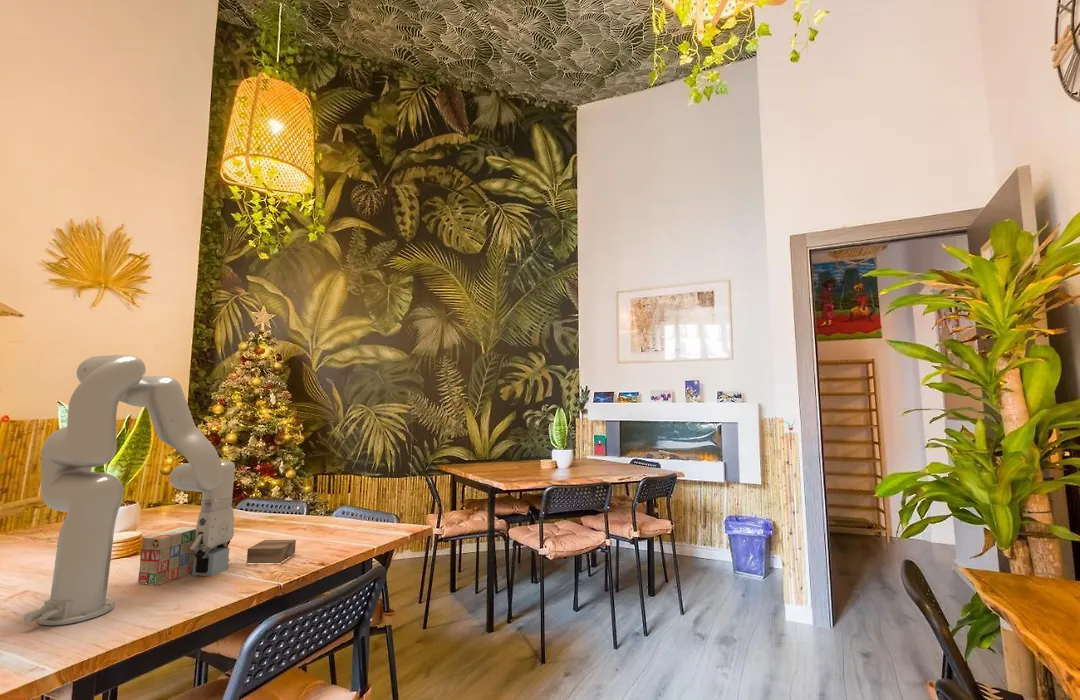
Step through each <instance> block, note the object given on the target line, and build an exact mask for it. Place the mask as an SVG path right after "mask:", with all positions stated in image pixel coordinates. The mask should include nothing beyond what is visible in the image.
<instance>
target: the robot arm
mask: <svg viewBox="0 0 1080 700" xmlns="http://www.w3.org/2000/svg"><path fill="white" fill-rule="evenodd" d="M76 377H77V379H78V381H79V382H80V383H79V384H78V386H76V388H75V389H74V391H73V392H72V394H71V397H70V399H69V401H68V406H67V407H68V408H67V419H66V420H67V422H66V424H67V425H66V426H65V427H61V428H60V429H59V428H58V429H57V430H55V431H53V432H52V433H51V434H50V435H49V436H47V438H46V439H45V441H44V443H43V445H42V447H41V448H42V449H41V453H40V490H41V492H40V493H41V497H42V500H43V503H44V504H45V505H46V506H47V507H48V508H49V509H51V510H54V511H57V512H62V513H63V512H64V513H67V514H66V517H65V519H64V521H63V523H62V525H61V526H60V527H61V528H60V529H59V533H58V534H59V535H58V537H57V545H56V554H55V560H54V569H53V574H52V575H53V576H52V582H51V583H52V584H51V590H50V591H51V592H50V597H49V599H46V600H44V605H42V606H41V607H40V608H39V609H35V610H32V611H29V612H26V613H25V614H24V615H23V620H24V623H30V622H33V621H36V620H37V621H36V622H37V623H38V624H39V625H42V626H61V625H69V624H74V623H80V622H83V621H89V620H91V619H95V618H97V617H100V616H102V615H104V614H106V613H108V612H110V611H111V610H112V609H113V608H114V607H115V601H114V600H113V599H111V598H107V593H108V585H109V577H110V576H109V575H110V567H111V562H112V561H111V560H112V551H113V544H114V535H115V528H116V524H117V523H116V521H117V517H118V514H119V510H120V508H121V505H122V502H123V498H124V491H125V489H124V486H123V483H122V482H121V481H120V479H119V478H117V476H115V475H113V474H110V473H106V472H101V471H100V472H97V471H93V470H92V469H93V468H96V467H101V466H104V465H106V464H108V463H110V461H112V460H113V458H114V457H115V455H116V452H117V446H118V445H117V444H118V443H117V411H118V405H119V403H120V402H121V403H124V404H127V405H130V406H132V407H133V406H134V407H138V408H146V410H147V413H148V415H149V417H150V421H151V423H152V425H153V428H154V431H155V434H156V436H157V438H158V439H159V440H160V441H161V442H163V443H164V444H166V445H167V446H169V447H170V448H172V449H175V451H178V452H179V453H180V454H181V455H183V457H184V458H185V459H186V460H187V463H183V464H179V465H178V466H176V467H175V468H173V469H172V470H171V472H170V474H169V476H168V477H169V478H168V480H169V484H170V485H171V486H172V487H173V488H175V490H176V489H177V490H179V491H187V492H198V493H201V502H200V511H199V514H198V517H197V521H196V526H195V527H196V532H195V541H194V543H193V544H192V546H191V547H190V550H191V551H192V552H193V554H194V555H195V558H197V561H196V573H206V572H207V571H208V560H209V558H207V556H208V553H209V550H210V548H212V547H215V546H216V548H229V545H230V543H231V541H232V539H233V537H234V536H235V534H234V532H235V531H234V527H235V519H234V517H235V516H234V513H235V512H234V507H233V506H232V504H233V493H234V491H233V490H234V481H235V471H236V465H235V463H234V462H233V461H229V460H221V458H220V456H219V454H218V451H217V449H216V447H215V446H214V445H213V444H212V442H211V441H210V440H209V439H208V438H207V437H206V435H205V434H204V433H203V432H202V431H201V430H200V429H199V428H198V427H197V426H196V424H195V421H194V419H193V415H192V413H191V410H190V407H189V405H188V402H187V399H186V396H185V393H184V390H183V389H182V388H183V387H182V385H181V383H180V382H179V381H178V380H177V379H176V378H174V377H171V376H166V375H146V365H145V362H144V360H142V359H141V358H139V357H138V356H135V355H130V354H111V355H97V356H91V357H89V358H86V359H84V360H83V361H81V363H80V364H79V365H78V367H77V368H76ZM204 545H205V546H204ZM202 549H205V551H204V552H203V551H202Z"/></svg>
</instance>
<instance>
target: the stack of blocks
mask: <svg viewBox="0 0 1080 700" xmlns="http://www.w3.org/2000/svg"><path fill="white" fill-rule="evenodd" d="M195 532H196V526H195V527H193V526H180V527H177V528H173V529H169V530H165V531H163V532H158V533H156V534H151V535H147V536H144V537H142V545H141V549H140V558H139V559H140V561H139V571H138V579H137V583H138V582H139V583H147V584H146V585H149V584H153V585H152V586H158V584H159V585H161V584H164V583H166V581H167V582H169V581H168V580H170V581H172V579H173V580H176V579H179V578H181V577H184V576H187V575H189V574H190V573H192V572H193V562H194V554H193V552H192V551H191V550H190V547H191V546H192V544H193V543H194V541H195ZM204 546H205V545H204ZM215 547H216V546H215ZM202 550H204V549H202ZM188 573H189V574H188ZM183 575H184V576H183ZM163 582H164V583H163ZM160 583H161V584H160Z"/></svg>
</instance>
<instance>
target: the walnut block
mask: <svg viewBox="0 0 1080 700" xmlns="http://www.w3.org/2000/svg"><path fill="white" fill-rule="evenodd" d="M296 545H297V539H264V540H262V541H260V542H258V543H256V544H254V545H252V546H250V547H248V548H247V555H246V564H247V563H281V562H282V561H284V560H285V559H287V558H288V557H290V556H292V555H293V554H294V553H295V554H296ZM292 557H293V556H292Z"/></svg>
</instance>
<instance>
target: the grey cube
mask: <svg viewBox="0 0 1080 700" xmlns="http://www.w3.org/2000/svg"><path fill="white" fill-rule="evenodd" d="M202 551H203V552H204V551H205V549H204V550H202ZM229 555H230V547H228V548H216V547H212V548H210V550H209V553H208V556H207V558H209V560H208V571H207V572H206V573H196V561H197V558H195V555H194V562H193V572H191V573H192V574H191V575H192V576H197V575H200V577H201V576H202V577H204V576H205V577H213V576H216V575H218V574H220V573H222V572H224V570H225V571H227V570H228V568H229V567H228V566H229ZM226 569H227V570H226Z"/></svg>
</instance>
